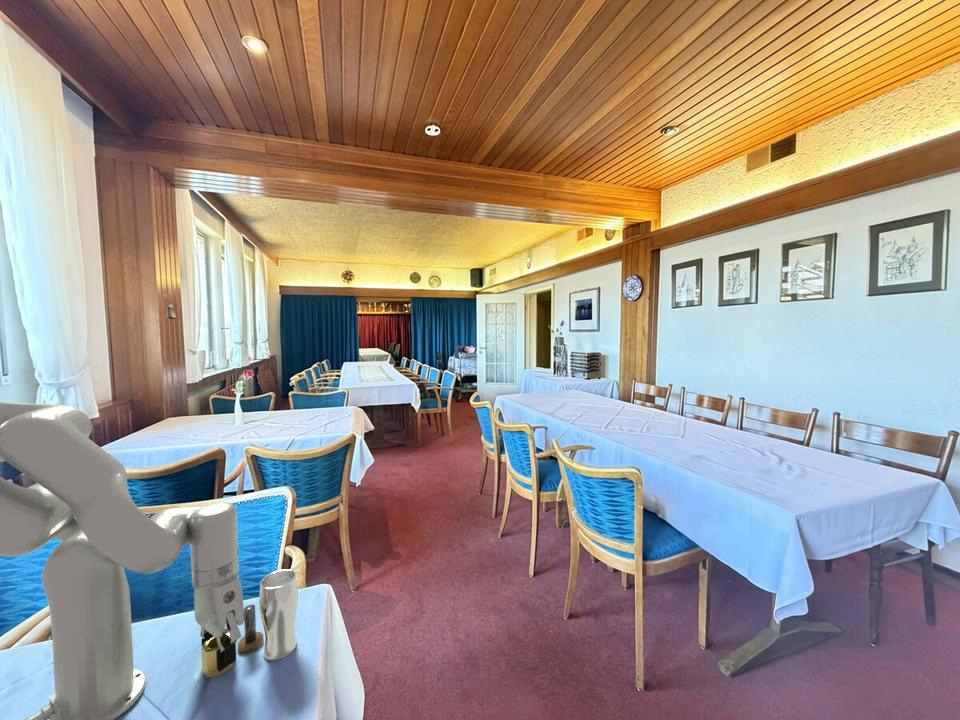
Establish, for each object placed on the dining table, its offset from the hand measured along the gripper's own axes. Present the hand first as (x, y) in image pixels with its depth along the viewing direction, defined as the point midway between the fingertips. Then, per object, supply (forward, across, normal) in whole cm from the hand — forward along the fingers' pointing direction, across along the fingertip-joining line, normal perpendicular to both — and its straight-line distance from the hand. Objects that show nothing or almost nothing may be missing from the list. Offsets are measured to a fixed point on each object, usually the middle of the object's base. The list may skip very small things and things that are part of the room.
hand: (219, 658), depth 74 cm
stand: (+1, 0, -6) cm, 6 cm away
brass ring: (+1, 0, 0) cm, 1 cm away
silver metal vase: (+2, -7, -8) cm, 11 cm away
